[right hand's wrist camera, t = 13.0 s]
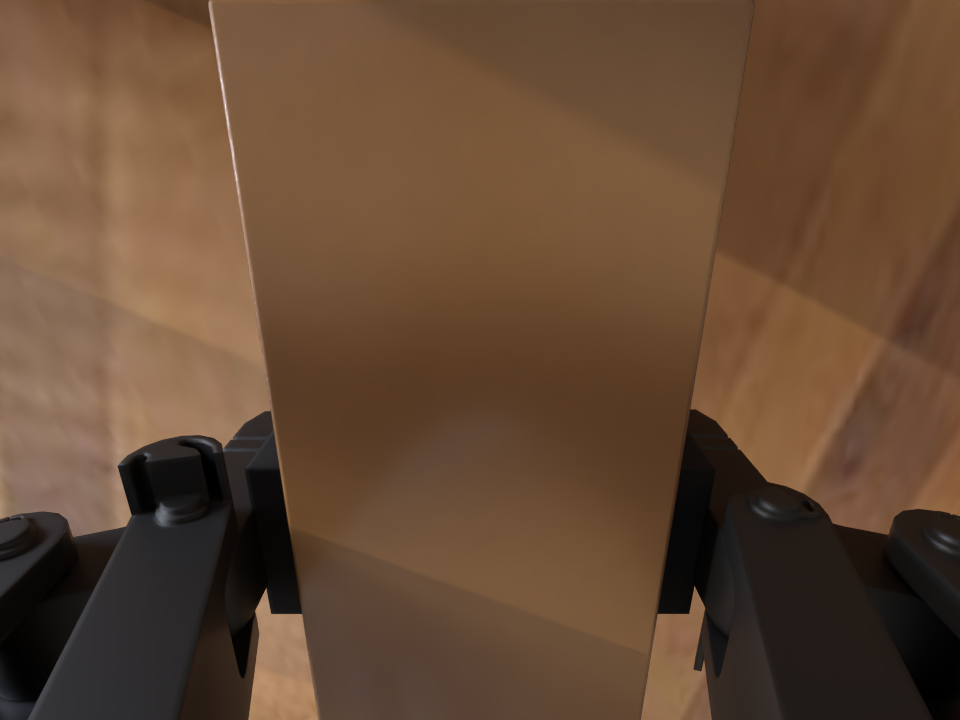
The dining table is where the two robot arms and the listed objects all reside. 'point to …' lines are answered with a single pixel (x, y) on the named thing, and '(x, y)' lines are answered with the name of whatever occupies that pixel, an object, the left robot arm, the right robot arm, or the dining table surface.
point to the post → (480, 328)
